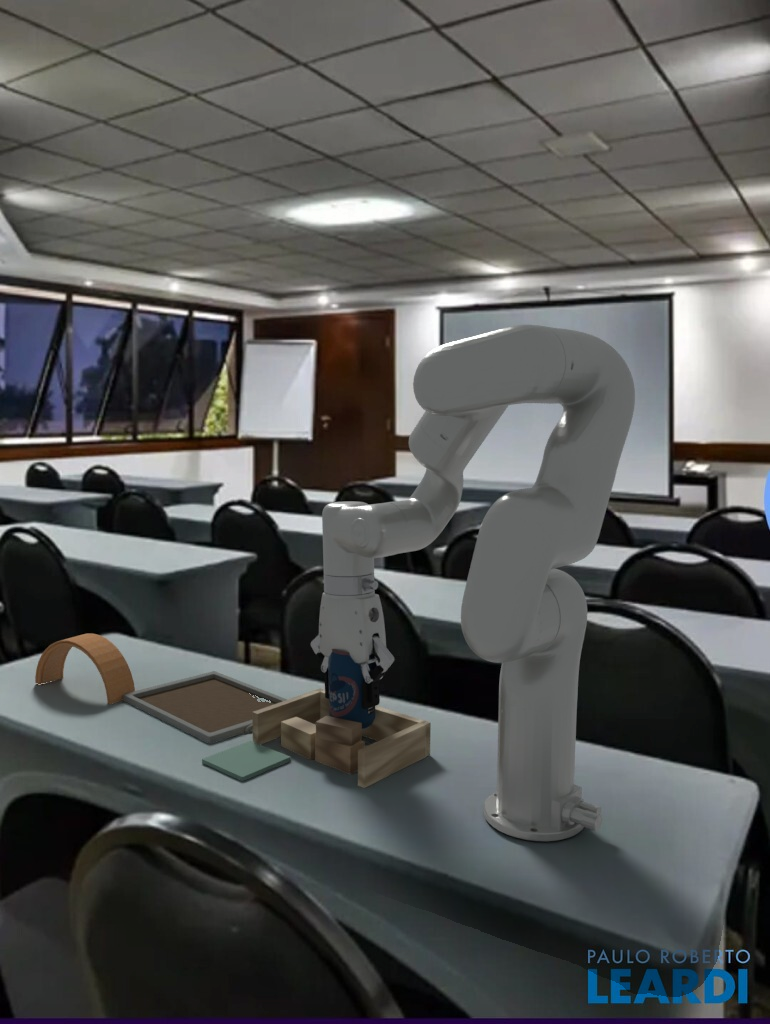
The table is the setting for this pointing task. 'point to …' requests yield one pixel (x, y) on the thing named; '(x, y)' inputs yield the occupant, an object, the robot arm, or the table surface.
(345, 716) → the soda can
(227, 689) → the framed cork board
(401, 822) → the table surface
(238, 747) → the mat
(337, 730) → the offcut top
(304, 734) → the offcut
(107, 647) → the arch
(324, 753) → the offcut
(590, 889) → the table surface
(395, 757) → the enclosure
